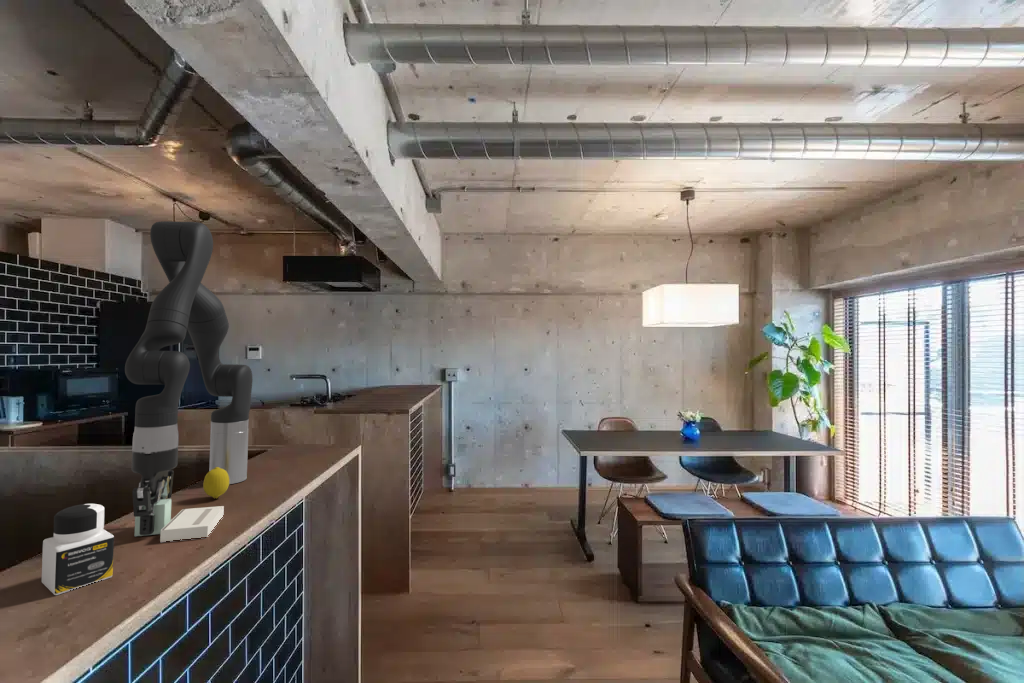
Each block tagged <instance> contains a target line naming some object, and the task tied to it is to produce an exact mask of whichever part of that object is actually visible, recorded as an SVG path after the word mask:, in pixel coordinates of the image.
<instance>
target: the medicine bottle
mask: <svg viewBox="0 0 1024 683" xmlns="http://www.w3.org/2000/svg"><path fill="white" fill-rule="evenodd" d="M104 528H105V506H103V505H102V504H97V503H82V504H76V505H72V506H68V507H65V508H63V509H62V510H60V511H58V512H56V513H55V514H54V516H53V536H51V537H48V538H45V539H44V540H43V541H42V556H41V558H42V561H41V583H42V584H43V585H44V586H45V587H46V588H47V589H48V590H49V591H50V592H51V593H52V594H53V595H54V596H59V595H62V594H64V593H68V592H71V591H73V589H74V590H77V589H79V587H81V588H83V587H82V586H84V587H86V585H87V586H89V585H88V584H90V585H92V584H91V583H93V584H95V583H94V582H96V583H99V582H102V581H105V580H108V579H111V578H112V577H113V574H114V573H113V572H114V548H115V547H114V546H115V536H114V535H113V533H110V532H109V531H107V530H106V529H104ZM101 580H102V581H101ZM98 581H99V582H98ZM76 588H77V589H76ZM70 590H71V591H70Z"/></svg>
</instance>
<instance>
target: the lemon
mask: <svg viewBox="0 0 1024 683" xmlns="http://www.w3.org/2000/svg"><path fill="white" fill-rule="evenodd" d="M202 485H203V486H202V487H203V490H204V493H205V494H206V495H207V496H209V497H212V498H213V499H215V498H216V499H218V498H219V497H220V496H222V495H224V494H225V493H227V490H228V488H229V486H230V484H229V475H228V473H227V471H225V470H224V469H222V468H219V467H215V468H214V469H212V470H211V471H208V472H207V473H206V475H205V476H204V480H203V484H202Z"/></svg>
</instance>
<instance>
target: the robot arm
mask: <svg viewBox="0 0 1024 683" xmlns="http://www.w3.org/2000/svg"><path fill="white" fill-rule="evenodd" d="M149 235H150V242H151V245H152V249H153V252H154V254H155V256H156V258H157V260H158V262H159V264H160V266H161V268H162V270H163V272H164V274H165V276H166V278H167V280H168V284H166V285H165V286H164V288H162V289H161V290H160V292H159V293H158V294H157V295H156V296H155V298H153V301H152V303H151V305H150V309H149V313H148V317H147V322H146V325H145V329H144V331H143V333H142V335H141V336H140V338H139V339H138V342H137V343H136V344H135V346H134V347H133V348H132V350H131V352H130V353H129V355H128V356H127V358H126V361H125V364H124V365H125V366H124V373H125V376H126V378H127V380H128V381H129V382H131V383H132V384H134V385H164V388H163V390H162V391H161V392H160V393H159V394H153V395H147V396H143V397H141V398H138V400H137V401H136V403H135V408H134V409H135V410H134V415H135V416H134V429H133V430H134V431H133V433H132V435H133V436H132V450H131V451H132V452H131V471H132V472H133V473H135V474H140V475H141V479H140V481H139V483H138V487H134V488H133V489H132V505H133V517H134V518H135V517H140V535H143V536H151V535H150V534H152V533H153V532H154V522H155V515H154V514H155V509H156V504H157V503H159V502H160V500H162V499H172V495H173V494H172V491H173V484H174V475H175V472H174V469H175V468H176V467H178V463H179V462H178V460H179V455H178V454H179V426H178V420H179V419H178V413H179V403H180V399H181V395H182V393H183V392H182V391H183V389H184V386H185V383H186V380H187V379H188V375H189V373H190V368H191V363H190V361H189V360H190V359H189V357H188V356H187V355H186V354H185V353H184V352H182V351H177V350H162V349H163V348H165V347H168V346H175V345H178V344H181V343H182V342H184V340H185V338H186V336H187V331H188V334H189V337H190V339H191V341H192V344H193V348H194V349H195V352H196V356H197V358H198V364H199V367H200V370H201V371H200V372H201V375H202V379H203V383H204V387H205V389H206V391H207V392H208V394H210V395H211V396H212V397H213V396H214V397H226V398H231V397H232V398H231V402H230V403H229V404H228V405H226V406H224V407H220V408H218V409H215V410H213V411H212V412H211V415H210V436H209V437H210V438H209V441H210V442H209V471H211V470H212V469H214V468H215V467H219V468H222V469H224V470H225V471H227V473H228V475H229V485H233V484H237V483H241V482H244V481H246V480H247V478H248V477H247V476H248V475H247V474H248V451H249V422H250V419H249V418H250V410H251V402H252V401H251V400H252V399H251V398H252V390H253V372H252V368H250V366H249V365H247V364H228V363H226V364H225V363H222V361H221V359H220V357H219V356H220V355H219V351H220V348H221V345H222V344H223V343H224V340H225V338H226V336H227V334H228V331H229V327H230V326H229V325H230V324H229V321H228V316H227V313H226V310H225V307H224V305H223V302H222V301H221V300H220V299H219V297H218V296H217V295H216V294H215V293H214V292H212V290H210V289H209V288H207V286H205V285H204V284H203V283H201V282H202V281H203V278H204V275H205V273H206V270H207V268H208V265H209V264H210V261H211V257H212V255H213V254H212V253H213V252H214V251H213V250H214V239H213V235H212V232H211V230H210V228H209V227H208V226H207V225H205V224H204V223H202V222H198V221H197V222H196V221H169V220H168V221H167V220H165V221H163V220H162V221H156V222H154V223H153V224H152V225H151V227H150V231H149ZM209 471H208V472H209ZM144 507H146V509H145V510H144Z"/></svg>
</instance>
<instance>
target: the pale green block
mask: <svg viewBox="0 0 1024 683" xmlns="http://www.w3.org/2000/svg"><path fill="white" fill-rule="evenodd" d="M145 509H146V507H144V510H145ZM154 515H155V522H154V532H153V533H152V534H150V535H149V536H152V535H160V534H161V529H162V528H163V527H165V526H166V525H167V524H168V523H169V522H170V521H171V520H172V498H169V499H162V500H160V502H159V503H157V504H156V509H155V514H154ZM133 536H134V537H142V536H144V535H140V517H134V535H133Z"/></svg>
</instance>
